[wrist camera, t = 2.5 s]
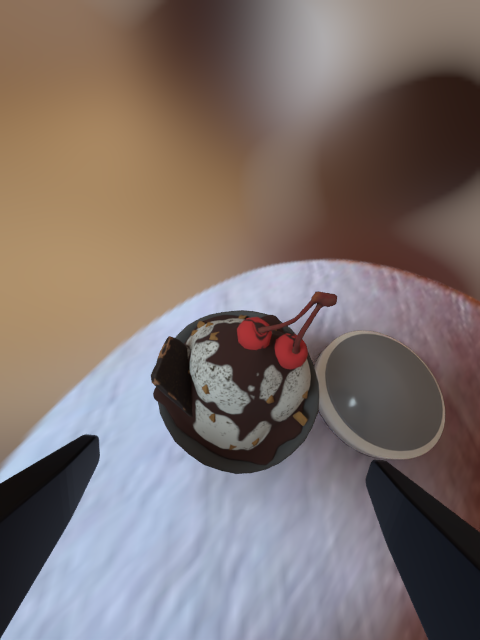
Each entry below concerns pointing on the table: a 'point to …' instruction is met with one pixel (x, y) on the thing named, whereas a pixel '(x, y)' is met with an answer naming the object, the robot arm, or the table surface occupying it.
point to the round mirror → (379, 396)
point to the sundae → (239, 388)
